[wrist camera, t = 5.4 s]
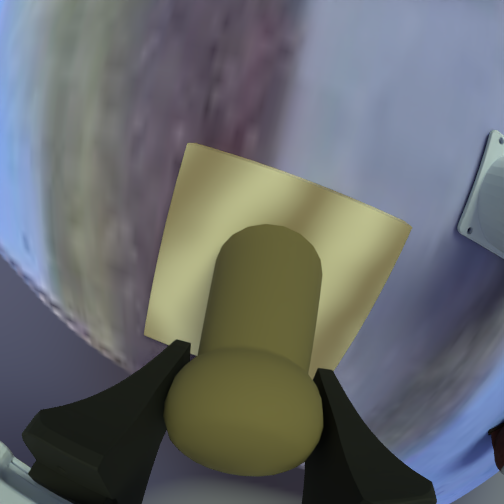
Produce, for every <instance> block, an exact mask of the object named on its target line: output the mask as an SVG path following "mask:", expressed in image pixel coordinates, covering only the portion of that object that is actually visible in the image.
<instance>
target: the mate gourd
mask: <svg viewBox="0 0 504 504" xmlns="http://www.w3.org/2000/svg"><path fill="white" fill-rule="evenodd" d="M488 435H491V438H492V445H493V449H494V457H495V463H496V466H497V468H498V469H499V470H500V471H501V473H502V474H504V423H502V424H500V425H498V426H496V427H494V428H492V429H490V430H489V431H488Z"/></svg>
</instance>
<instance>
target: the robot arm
mask: <svg viewBox="0 0 504 504" xmlns="http://www.w3.org/2000/svg"><path fill="white" fill-rule="evenodd" d="M499 138H500V140H501V143H499ZM469 227H470V231H469V232H468V233H467V230H468V228H469ZM457 228H458V232H459V233H460V234H462V235H464V236H466V237H467V238H469V239H471V240H473V241H474V242H476V243H478V244H480V245H481V246H483V247H485V248H486V249H488V250H490V251H491V252H493V253H495V254H496V255H498V256H500V257H501V258H503V259H504V136H503V135H502V134H501V133H500V132H498V131H497V130H492V131H491V132H490V134H489V138H488V141H487V145H486V148H485V152H484V155H483V158H482V161H481V165H480V168H479V171H478V174H477V177H476V179H475V182H474V185H473V188H472V191H471V193H470V196H469V199H468V201H467V204H466V206H465V209H464V211H463V214H462V216H461V219H460V221H459V223H458V227H457ZM190 349H191V343H189V342H185V341H182V340H178V339H176V340H174V341H173V342H172V343H171V344H170V345H169V346H168V347H167V348H166V349H164V350H163V351H162V352H161V353H160V354H159V355H157V356H156V357H155V358H154V359H153V360H151V361H150V362H149V363H147V364H146V365H145V366H144V367H142V368H141V369H139V370H138V371H137V372H135V373H134V374H132V375H131V376H129V377H128V378H126V379H125V380H123V381H121V382H120V383H118V384H116V385H114V386H112V387H111V388H109V389H107V390H104V391H102V392H100V393H98V394H96V395H93V396H91V397H89V398H86V399H83V400H80V401H77V402H74V403H71V404H67V405H63V406H59V407H54V408H49V409H43V410H40V411H39V412H38V414H36V415H35V417H34V418H33V419H32V421H31V422H30V423H29V425H28V426H27V427H26V429H25V430H24V431H23V433H22V438H23V441H24V442H25V444H26V446H27V447H28V449H29V450H30V452H31V453H32V454H33V456H34V457H35V459H36V462H35V463H34V465H33V466H32V468H30V467H29V466H27V465H25V464H24V463H23V462H21V461H20V460H18V459H17V458H15V457H14V456H13V454H12V452H11V451H10V450H9V448H8V447H7V446H6V445H5V444H3V443H2V442H1V441H0V504H142V501H143V497H144V493H145V490H146V486H147V483H148V480H149V476H150V473H151V470H152V467H153V464H154V461H155V458H156V455H157V452H158V449H159V446H160V443H161V441H162V439H163V436H164V434H165V432H166V430H167V428H166V424H165V421H164V417H163V414H164V402H165V399H166V397H167V395H168V392H169V390H170V387H171V385H172V383H173V380H174V378H175V376H176V375H177V374H178V373H179V371H180V370H181V369H182V368H183V367H184V366H185V365H186V364H187V363H188V362H190ZM313 381H314V383H315V384H316V386H317V388H318V391H319V394H320V397H321V400H322V409H323V430H322V433H321V437H320V440H319V442H318V444H317V445H316V447H315V449H314V450H313V452H312V453H311V454H310V456H309V457H308V458H307V460H306V461H305V477H304V490H303V498H302V504H436V503H437V499H436V495H435V491H434V487H433V484H432V482H431V481H430V480H428V479H426V478H425V477H423V476H421V475H420V474H418V473H417V472H415V471H414V470H412V469H411V468H410V467H408V466H407V465H406V464H404V463H403V462H402V461H400V460H399V459H398V458H397V457H396V456H395V455H394V454H392V453H391V452H390V451H389V450H388V449H387V448H386V447H385V446H384V445H383V444H382V443H381V442H380V441H379V440H378V438H377V437H376V436H375V435H374V434H373V433H372V432H371V430H370V429H369V428H368V427H367V425H366V424H365V423H364V421H363V420H362V419H361V417H360V416H359V414H358V413H357V411H356V410H355V408H354V407H353V405H352V403H351V402H350V400H349V399H348V397H347V395H346V393H345V392H344V390H343V388H342V386H341V385H340V383H339V381H338V379H337V377H336V376H335V374H334V372H333V371H332V370H331V369H323V368H318V369H317V371H316V373H315V376H314V378H313Z"/></svg>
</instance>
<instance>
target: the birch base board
mask: <svg viewBox="0 0 504 504" xmlns="http://www.w3.org/2000/svg"><path fill="white" fill-rule="evenodd" d="M261 224H271V225H278V226H284V227H287V228H289V229H291V230H293V231H295V232H297V233H300V234H301V235H302V236H303V237H304V238H305V239H307V240H308V241H309V242H310V243H311V244H312V245H313V246H314V248H315V250H316V252H317V254H318V256H319V258H320V259H321V266H322V274H323V275H322V284H321V292H320V300H319V308H318V315H317V322H316V329H315V336H314V342H313V349H312V355H311V361H310V367H309V373H308V375H309V376H310V377H311V379H312V380H313V378H314V376H315V373H316V371H317V369H318V368H323V369H331V370H332V371H334V370H335V368H336V367H337V365H338V364H339V362H340V360H341V359H342V357H343V356H344V354H345V353H346V351H347V349H348V348H349V346H350V345H351V343H352V341H353V340H354V338H355V336H356V335H357V333H358V331H359V330H360V328H361V326H362V325H363V323H364V321H365V319H366V318H367V316H368V314H369V312H370V311H371V309H372V307H373V305H374V303H375V302H376V300H377V298H378V296H379V294H380V292H381V290H382V289H383V287H384V285H385V283H386V281H387V279H388V277H389V275H390V273H391V271H392V269H393V267H394V265H395V263H396V261H397V259H398V257H399V255H400V253H401V251H402V249H403V247H404V244H405V242H406V240H407V238H408V236H409V233H410V231H411V229H412V227H411V226H410V225H409V224H407V223H406V222H404V221H403V220H401V219H398V218H396V217H394V216H392V215H390V214H387V213H385V212H383V211H381V210H378V209H376V208H374V207H372V206H369V205H367V204H365V203H362V202H360V201H358V200H355V199H353V198H350V197H348V196H346V195H343V194H341V193H338V192H336V191H333V190H331V189H328V188H326V187H323V186H321V185H318V184H315V183H313V182H310V181H308V180H305V179H302V178H300V177H297V176H294V175H291V174H289V173H286V172H283V171H280V170H278V169H275V168H272V167H269V166H266V165H263V164H260V163H257V162H254V161H251V160H248V159H245V158H242V157H239V156H236V155H233V154H230V153H227V152H224V151H220V150H217V149H214V148H211V147H207V146H204V145H200V144H197V143H187V147H186V150H185V154H184V157H183V160H182V164H181V167H180V171H179V175H178V178H177V182H176V186H175V189H174V193H173V197H172V201H171V205H170V209H169V213H168V217H167V221H166V225H165V229H164V234H163V238H162V242H161V247H160V251H159V256H158V261H157V265H156V270H155V275H154V280H153V285H152V291H151V296H150V301H149V307H148V313H147V319H146V325H145V331H144V335H145V336H148V337H150V338H152V339H155V340H157V341H160V342H162V343H165V344H167V345H170V344H171V343H172V342H173V341H174V340H176V339H178V340H182V341H185V342H189V343H191V349H190V353H191V354H193V355H196V356H198V350H199V345H200V339H201V334H202V329H203V323H204V318H205V313H206V308H207V303H208V297H209V292H210V287H211V282H212V277H213V273H214V268H215V263H216V259H217V256H218V254H219V252H220V249H221V247H222V245H223V244H224V243H225V242H226V241H227V240H228V239H229V238H230V237H231V236H232V235H233V234H235V233H237V232H239V231H241V230H243V229H244V228H246V227H249V226H255V225H261Z"/></svg>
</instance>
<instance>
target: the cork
mask: <svg viewBox="0 0 504 504" xmlns="http://www.w3.org/2000/svg"><path fill="white" fill-rule="evenodd" d="M322 275H323V274H322V266H321V259H320V258H319V256H318V254H317V252H316V250H315V248H314V246H313V245H312V244H311V243H310V242H309V241H308V240H307V239H305V238H304V237H303V236H302V235H301V234H300V233H297V232H295V231H293V230H291V229H289V228H287V227H284V226H278V225H271V224H261V225H255V226H249V227H246V228H244V229H243V230H241V231H239V232H237V233H235V234H233V235H232V236H231V237H230V238H229V239H228V240H227V241H226V242H225V243H224V244H223V245H222V247H221V249H220V252H219V254H218V256H217V259H216V263H215V268H214V273H213V277H212V282H211V287H210V292H209V297H208V303H207V308H206V313H205V318H204V323H203V329H202V334H201V339H200V345H199V350H198V356H196V357H195V358H194V359H192V360H191V361H190V362H188V363H187V364H186V365H185V366H184V367H183V368H182V369H181V370H180V371H179V373H178V374H177V375H176V376H175V378H174V380H173V383H172V385H171V387H170V390H169V392H168V395H167V397H166V399H165V402H164V414H163V417H164V421H165V424H166V428H167V431H168V434H169V438H170V440H171V441H172V443H173V444H174V445H175V446H176V447H177V448H178V450H180V451H181V452H182V453H183V454H184V455H186V456H187V457H189V458H190V459H192V460H193V461H195V462H196V463H199V464H201V465H203V466H205V467H207V468H210V469H213V470H217V471H220V472H224V473H228V474H234V475H240V476H266V475H267V476H268V475H275V474H278V473H282V472H286V471H288V470H291V469H293V468H295V467H297V466H299V465H300V464H302V463H304V462H305V461H306V460H307V458H308V457H309V456H310V454H311V453H312V452H313V450H314V449H315V447H316V445H317V444H318V442H319V440H320V437H321V433H322V430H323V409H322V400H321V397H320V394H319V391H318V388H317V386H316V384H315V383H314V381H313V380H312V379H311V377H310V376H309V375H308V373H309V367H310V361H311V355H312V349H313V342H314V336H315V329H316V322H317V315H318V308H319V300H320V292H321V284H322Z"/></svg>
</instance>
